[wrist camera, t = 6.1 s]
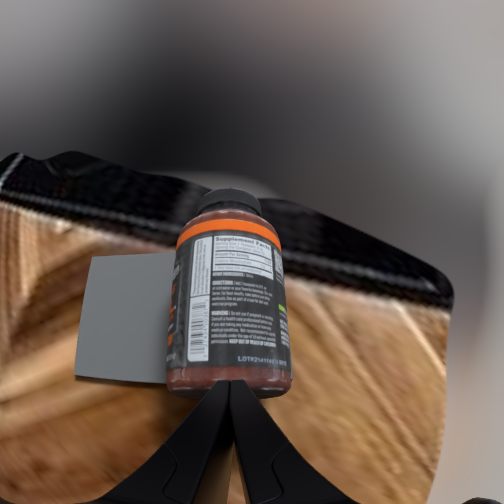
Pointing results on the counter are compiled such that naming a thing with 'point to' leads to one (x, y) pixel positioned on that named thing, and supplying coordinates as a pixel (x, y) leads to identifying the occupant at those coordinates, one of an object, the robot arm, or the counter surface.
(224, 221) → the supplement bottle
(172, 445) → the robot arm
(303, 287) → the counter surface
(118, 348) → the pad
